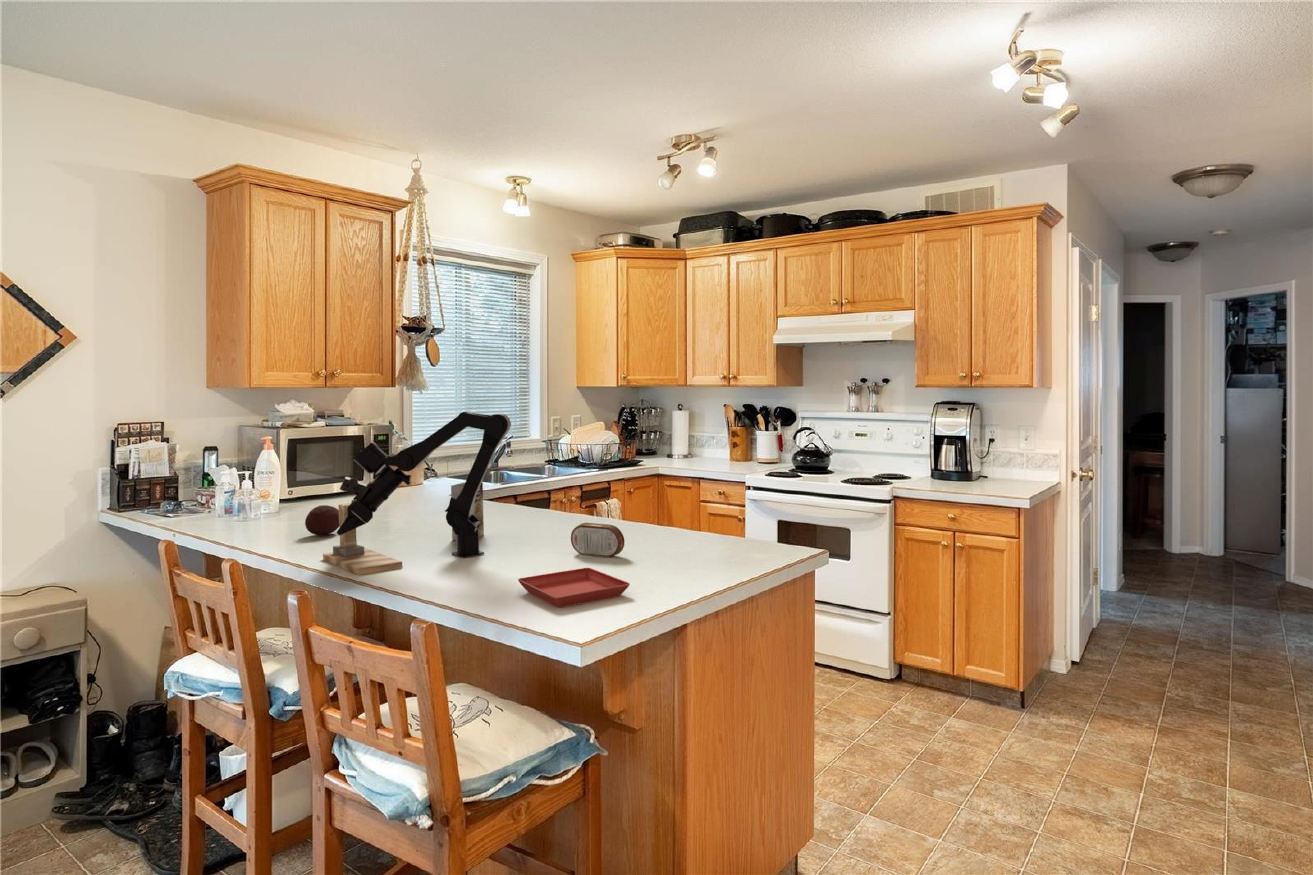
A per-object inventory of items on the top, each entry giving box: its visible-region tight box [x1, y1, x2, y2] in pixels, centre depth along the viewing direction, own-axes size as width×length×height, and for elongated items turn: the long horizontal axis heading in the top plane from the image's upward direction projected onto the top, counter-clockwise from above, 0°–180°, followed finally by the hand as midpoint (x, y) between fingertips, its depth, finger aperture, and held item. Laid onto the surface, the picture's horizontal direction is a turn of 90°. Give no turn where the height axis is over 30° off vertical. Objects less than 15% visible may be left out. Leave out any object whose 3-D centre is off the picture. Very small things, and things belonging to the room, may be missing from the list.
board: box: [322, 547, 403, 576], centre depth 199 cm, size 24×11×2 cm, turn 42°
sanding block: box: [332, 502, 365, 557], centre depth 203 cm, size 7×5×13 cm
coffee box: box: [450, 481, 485, 541], centre depth 232 cm, size 9×6×16 cm
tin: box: [570, 522, 625, 558], centre depth 205 cm, size 15×3×8 cm, turn 65°
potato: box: [304, 504, 339, 537], centre depth 238 cm, size 9×12×9 cm
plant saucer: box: [517, 567, 631, 608], centre depth 167 cm, size 18×18×3 cm
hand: (339, 531), depth 203 cm, fingers open, 9 cm apart
